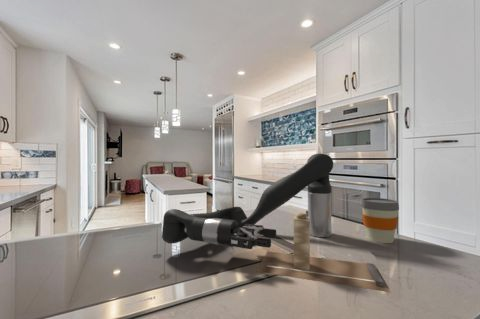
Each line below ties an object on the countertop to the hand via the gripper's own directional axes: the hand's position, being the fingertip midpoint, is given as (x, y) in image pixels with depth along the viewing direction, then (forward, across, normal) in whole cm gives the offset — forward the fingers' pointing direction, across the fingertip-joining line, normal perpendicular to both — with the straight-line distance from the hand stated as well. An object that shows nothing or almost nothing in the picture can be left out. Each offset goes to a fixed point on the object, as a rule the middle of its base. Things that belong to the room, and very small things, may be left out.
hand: (273, 238), depth 65 cm
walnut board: (+12, -1, -8) cm, 14 cm away
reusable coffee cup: (+35, -37, -8) cm, 52 cm away
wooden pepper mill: (+8, -1, -7) cm, 10 cm away
